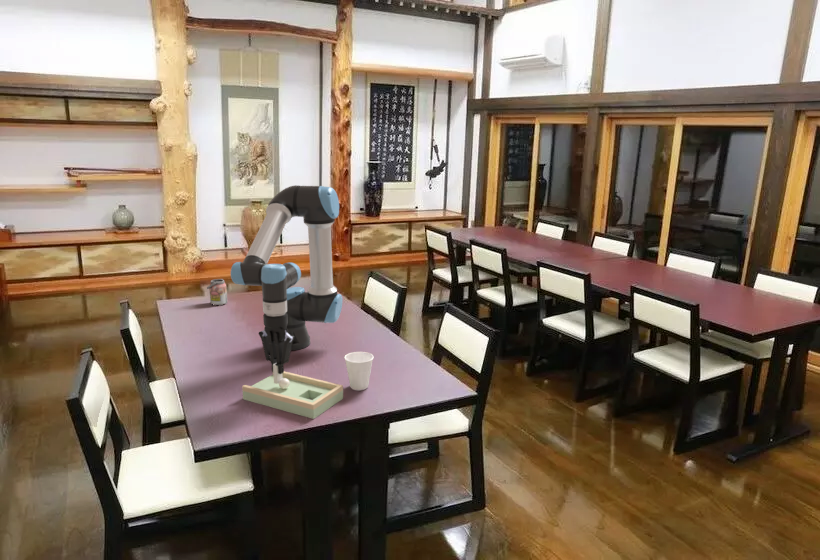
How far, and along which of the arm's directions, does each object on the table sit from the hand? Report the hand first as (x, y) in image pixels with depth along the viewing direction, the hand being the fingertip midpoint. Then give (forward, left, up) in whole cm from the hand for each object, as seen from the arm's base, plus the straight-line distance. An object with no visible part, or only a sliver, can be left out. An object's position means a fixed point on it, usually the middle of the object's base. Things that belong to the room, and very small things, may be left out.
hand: (278, 381), depth 189 cm
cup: (+20, +18, -5) cm, 27 cm away
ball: (+2, 0, 0) cm, 3 cm away
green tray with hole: (+6, 0, -5) cm, 7 cm away
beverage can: (-94, +68, -5) cm, 116 cm away
